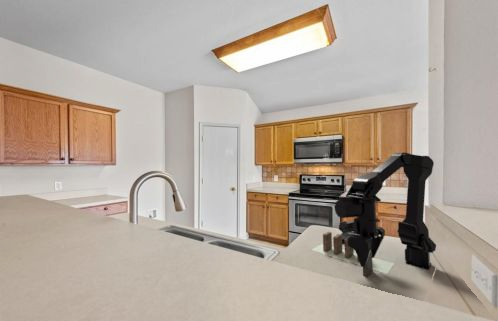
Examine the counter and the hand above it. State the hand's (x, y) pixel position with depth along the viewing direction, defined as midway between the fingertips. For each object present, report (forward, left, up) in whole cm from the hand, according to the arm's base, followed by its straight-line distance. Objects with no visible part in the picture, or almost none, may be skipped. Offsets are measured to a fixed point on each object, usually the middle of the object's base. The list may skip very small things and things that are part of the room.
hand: (367, 261), depth 70 cm
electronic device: (+17, -28, -5) cm, 33 cm away
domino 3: (+10, -9, -4) cm, 14 cm away
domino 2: (+14, -9, -4) cm, 17 cm away
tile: (0, 0, -4) cm, 4 cm away
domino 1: (+19, -9, -4) cm, 21 cm away
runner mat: (+10, -9, -4) cm, 14 cm away
